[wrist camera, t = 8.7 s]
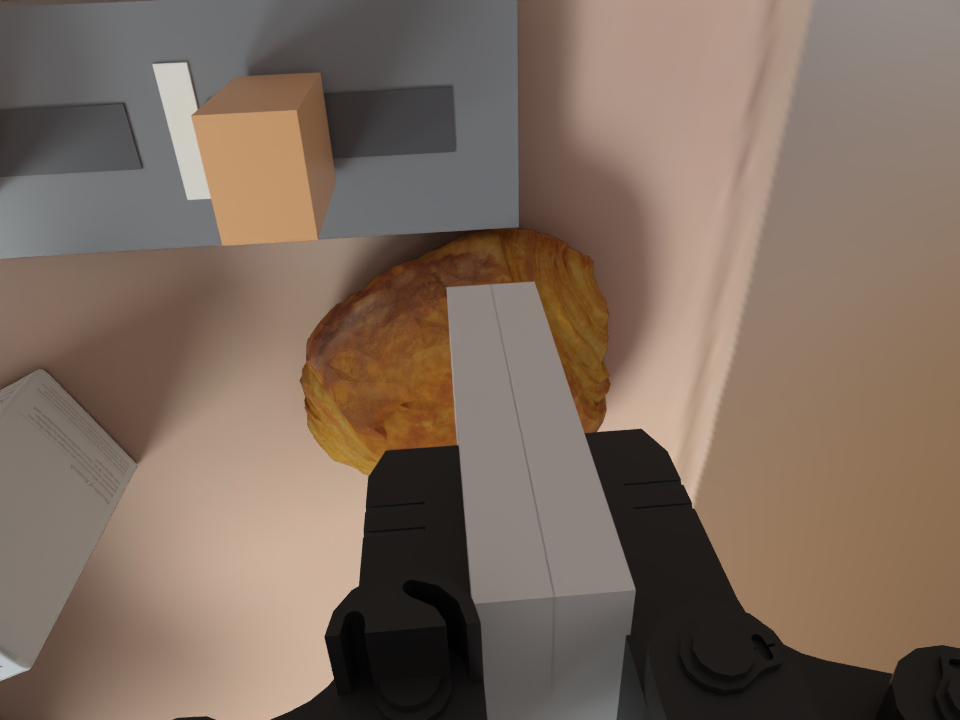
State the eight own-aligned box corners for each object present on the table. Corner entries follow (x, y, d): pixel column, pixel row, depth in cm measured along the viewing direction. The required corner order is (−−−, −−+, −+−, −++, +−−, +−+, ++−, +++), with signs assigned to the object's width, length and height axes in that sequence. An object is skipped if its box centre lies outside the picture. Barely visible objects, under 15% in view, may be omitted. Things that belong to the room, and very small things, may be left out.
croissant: (272, 290, 36) (212, 382, 30) (555, 162, 32) (561, 236, 25) (410, 483, 43) (388, 593, 36) (661, 401, 38) (686, 509, 32)
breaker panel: (-82, 237, 31) (-128, 267, 28) (-191, 9, 26) (-259, 19, 24) (510, 203, 32) (519, 228, 30) (508, -22, 28) (517, -16, 25)
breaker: (258, 185, 28) (222, 245, 23) (236, 76, 26) (190, 115, 20) (336, 181, 28) (318, 240, 23) (320, 72, 26) (296, 110, 21)
